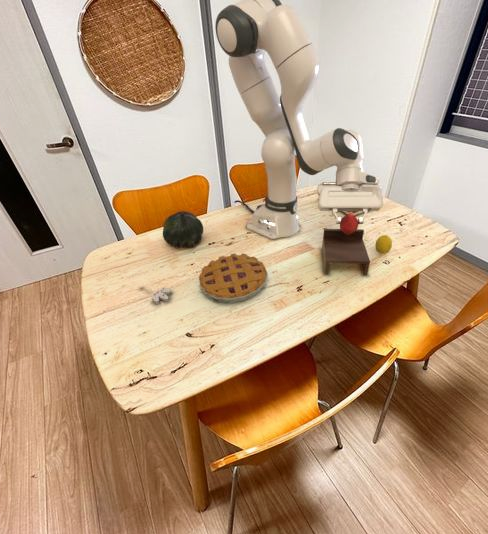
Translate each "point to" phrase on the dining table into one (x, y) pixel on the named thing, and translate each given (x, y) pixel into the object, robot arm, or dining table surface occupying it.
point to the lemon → (383, 244)
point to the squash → (182, 230)
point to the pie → (233, 278)
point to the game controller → (160, 295)
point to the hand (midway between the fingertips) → (349, 223)
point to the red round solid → (349, 223)
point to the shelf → (344, 249)
